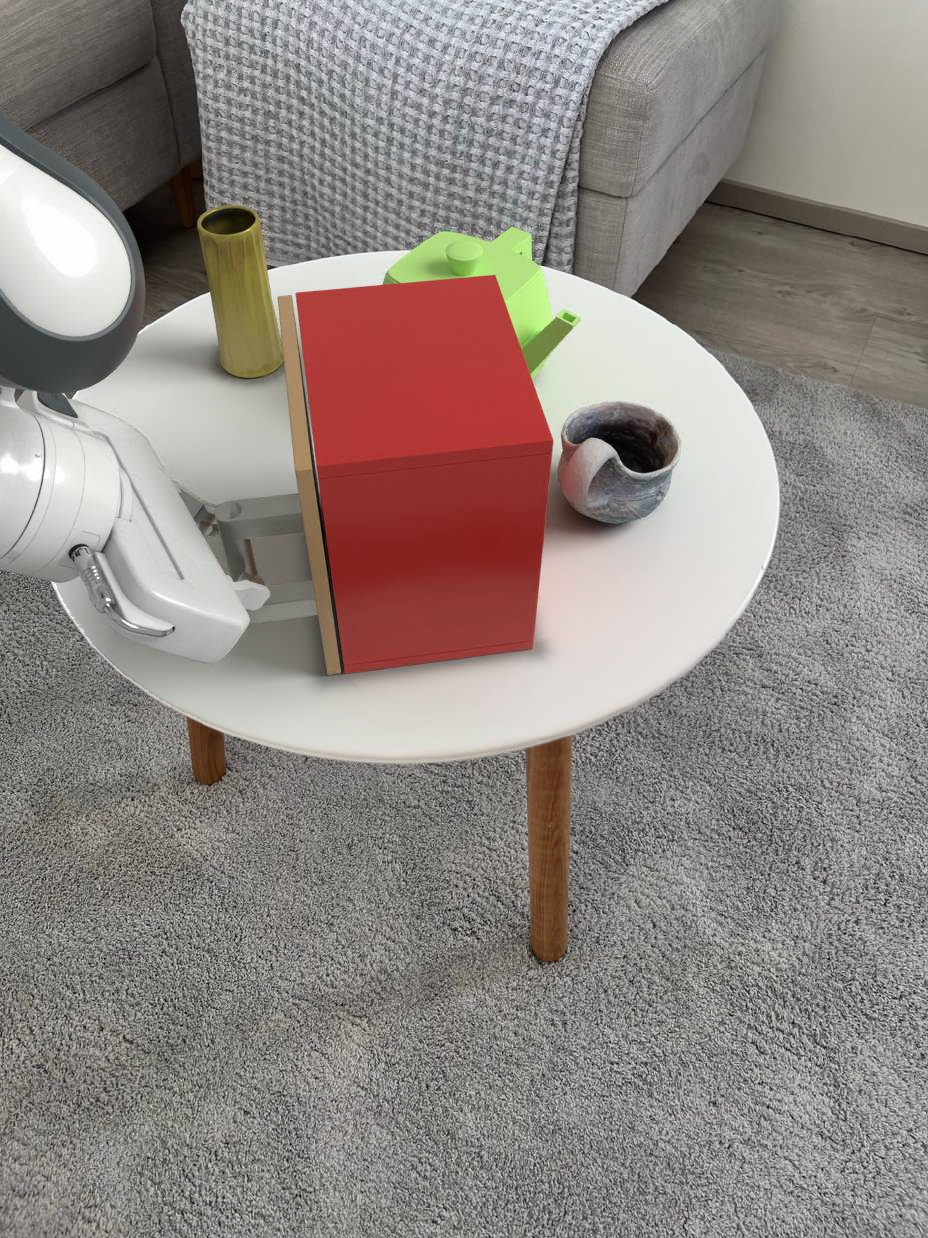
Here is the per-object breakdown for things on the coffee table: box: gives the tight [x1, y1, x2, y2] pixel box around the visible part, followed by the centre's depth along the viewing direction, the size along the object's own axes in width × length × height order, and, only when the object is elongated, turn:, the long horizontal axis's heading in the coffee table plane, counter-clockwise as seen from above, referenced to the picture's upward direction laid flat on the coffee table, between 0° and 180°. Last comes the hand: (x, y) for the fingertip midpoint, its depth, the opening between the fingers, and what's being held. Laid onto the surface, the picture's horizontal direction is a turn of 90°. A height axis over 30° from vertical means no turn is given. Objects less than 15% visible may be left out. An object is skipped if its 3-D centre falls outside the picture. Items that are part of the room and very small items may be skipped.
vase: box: [196, 204, 284, 379], centre depth 92 cm, size 6×6×14 cm
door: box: [214, 294, 342, 676], centre depth 71 cm, size 6×18×20 cm, turn 10°
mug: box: [557, 400, 682, 525], centre depth 81 cm, size 10×12×10 cm
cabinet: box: [295, 275, 554, 674], centre depth 73 cm, size 14×18×20 cm
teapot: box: [381, 226, 582, 381], centre depth 91 cm, size 18×20×13 cm
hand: (239, 557), depth 68 cm, fingers open, 6 cm apart
